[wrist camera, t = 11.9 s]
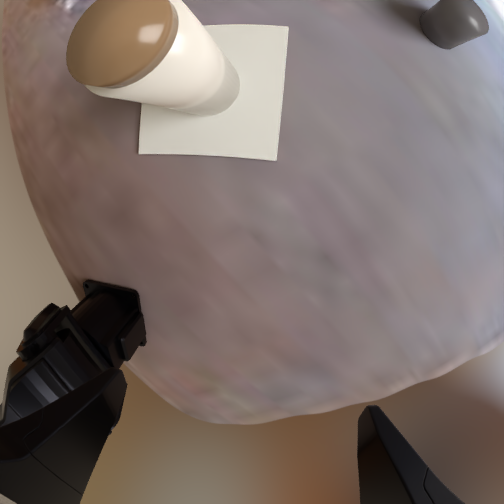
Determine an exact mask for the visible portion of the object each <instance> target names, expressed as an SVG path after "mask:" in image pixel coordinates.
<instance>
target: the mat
mask: <svg viewBox="0 0 504 504" xmlns="http://www.w3.org/2000/svg"><path fill="white" fill-rule="evenodd" d="M203 27H204V28H205V29H206V31H207V32H208V33H209V34H210V36H211V37H212V38H213V40H214V41H215V42H216V43H217V45H218V46H219V47H220V49H221V50H222V51H223V53H224V54H225V56H226V57H227V58H228V60H229V61H230V62H231V64H232V65H233V67H234V68H235V69H236V71H237V73H238V75H239V78H240V90H239V93H238V96H237V98H236V100H235V101H234V102H233V104H232V105H231V106H230V107H229V108H228V109H226V110H225V111H223V112H221V113H219V114H217V115H213V116H198V115H194V114H190V113H186V112H182V111H178V110H173V109H169V108H164V107H160V106H155V105H150V104H145V103H142V108H141V120H140V136H139V154H186V155H210V156H227V157H240V158H252V159H262V160H272V161H276V160H277V151H278V141H279V131H280V120H281V110H282V99H283V89H284V77H285V66H286V55H287V43H288V30H289V27H285V26H272V25H247V24H232V25H207V26H203Z"/></svg>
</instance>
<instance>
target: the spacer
mask: <svg viewBox="0 0 504 504" xmlns="http://www.w3.org/2000/svg"><path fill="white" fill-rule="evenodd" d="M420 25H421V28H422V30H423V32H424V33H425V35H426V36H427V37H428V38H429V39H430V41H432V42H433V43H434V44H435V45H437V46H438V47H440V48H443V49H452V48H454V47H456V46H458V45H461V44H463V43H465V42H467V41H470V40H472V39H475V38H477V37H479V36H482V35H484V34H486V33H487V32H488V30H489V25H488V21H487V19H486V17H485V15H484V13H483V12H482V10H481V9H480V7H479V6H478V5H477V4H476V3H475V2H474V1H473V0H440V1H439V2H437V3H436V4H435V5H434V6H432V7H431V8H430V9H429V10H427V11H426V12H425V13H424V14H423V15H422V16H421V18H420Z"/></svg>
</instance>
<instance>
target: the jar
mask: <svg viewBox="0 0 504 504" xmlns="http://www.w3.org/2000/svg"><path fill="white" fill-rule="evenodd" d="M66 60H67V66H68V70H69V72H70V74H71V75H72V77H73V78H74V79H75V80H76V81H78V82H80V83H82V84H84V85H85V86H86V87H87V88H88V89H89V90H90V91H91V92H93V93H94V94H97V95H99V96H103V97H109V98H116V99H123V100H129V101H134V102H140V103H145V104H150V105H155V106H160V107H164V108H169V109H173V110H178V111H182V112H186V113H190V114H194V115H198V116H213V115H217V114H219V113H221V112H223V111H225V110H226V109H228V108H229V107H230V106H231V105H232V104H233V102H234V101H235V100H236V98H237V96H238V93H239V90H240V78H239V75H238V73H237V71H236V69H235V68H234V67H233V65H232V64H231V62H230V61H229V60H228V58H227V57H226V56H225V54H224V53H223V51H222V50H221V49H220V47H219V46H218V45H217V43H216V42H215V41H214V40H213V38H212V37H211V36H210V34H209V33H208V32H207V31H206V29H205V28H204V27H203V26H202V24H201V23H200V22H199V21H198V19H197V18H196V17H195V16H194V14H193V13H192V12H191V11H190V10H189V9H188V7H187V6H186V5H185V4H184V3H183V2H182V0H97V1H95V2H94V3H93V4H92V5H91V6H90V7H89V8H88V9H87V10H86V11H85V13H84V14H83V15H82V16H81V18H80V19H79V21H78V22H77V24H76V25H75V27H74V29H73V31H72V33H71V36H70V39H69V42H68V46H67V52H66Z"/></svg>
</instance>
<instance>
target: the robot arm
mask: <svg viewBox="0 0 504 504" xmlns="http://www.w3.org/2000/svg"><path fill="white" fill-rule="evenodd" d="M83 287H84V291H85V295H86V297H85V298H84V299H83V300H82V301H80V302H79V303H78V304H77V305H76V306H75V307H74V308H73V309H72V310H70V309H69V307H68V306H67V305H66V306H64V307H62V308H59V307H58V306H56V305H55V304H53V303H51V304H49V305H48V306H47V307H46V308H44V309H43V310H42V311H41V312H40V313H39V314H38V315H37V316H36V317H35V318H34V319H33V320H32V321H31V323H30V324H29V325H28V326H27V328H26V329H25V330H24V336H23V340H22V341H21V343H20V345H19V347H18V349H17V351H16V352H17V354H18V355H19V357H18V358H17V359H16V360H15V361H14V362H13V363H12V364H11V365H10V366H9V368H8V373H7V378H6V383H5V389H4V396H3V402H2V404H1V405H0V504H80V501H81V499H82V496H83V495H82V494H83V493H84V491H85V488H86V486H87V484H88V481H89V479H90V476H91V474H92V472H93V469H94V467H95V465H96V462H97V460H98V457H99V455H100V453H101V451H102V448H103V446H104V444H105V442H106V440H107V438H108V435H110V434H111V433H112V431H111V430H112V429H113V428H114V427H115V426H116V424H117V423H118V421H119V419H120V415H121V411H122V406H123V402H124V397H125V392H126V388H127V383H126V381H125V377H124V374H123V372H122V370H120V369H119V368H120V367H121V365H122V364H123V362H124V361H129V360H130V359H131V357H132V356H133V354H134V352H135V351H136V349H137V348H138V346H145V344H146V343H147V341H146V336H145V335H146V330H145V324H144V318H143V314H142V312H141V305H140V298H139V294H138V292H137V291H135V290H132V289H127V288H122V287H117V286H113V285H108V284H104V283H100V282H95V281H91V280H86V281H85V282H84V283H83ZM133 295H134V296H135V297H134V296H133ZM357 447H358V448H357V449H358V450H357V458H358V470H359V471H358V472H359V487H360V504H465V503H464V502H462V501H461V500H460V499H459V498H458V497H457V496H456V495H455V494H454V493H453V492H451V491H450V490H449V489H448V488H447V487H446V486H445V485H444V484H443V483H442V482H441V481H440V480H439V479H438V477H437V476H436V475H435V474H434V473H433V472H432V471H431V469H430V468H429V467H428V466H427V465H426V463H425V462H424V461H423V460H422V459H421V457H420V456H419V455H418V454H417V452H416V451H415V450H414V449H413V448H412V446H411V445H410V444H409V443H408V441H407V440H406V439H405V438H404V437H403V435H402V434H401V433H400V432H399V430H398V429H397V428H396V427H395V426H394V424H393V423H392V422H391V421H390V420H389V418H388V417H387V416H386V415H385V413H384V412H383V411H382V410H381V409H380V407H379V406H377V405H368V406H366V408H365V409H364V411H363V412H362V414H361V415H360V417H359V420H358V446H357Z"/></svg>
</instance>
